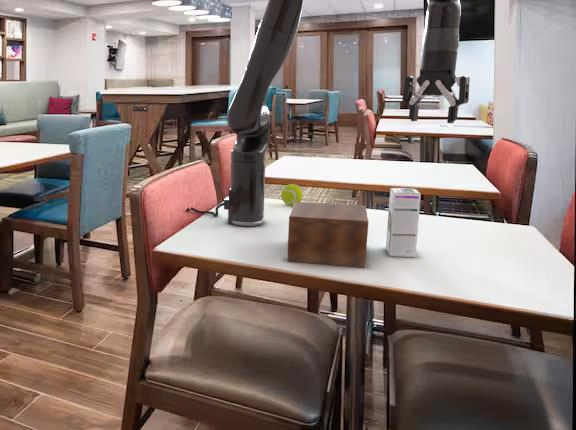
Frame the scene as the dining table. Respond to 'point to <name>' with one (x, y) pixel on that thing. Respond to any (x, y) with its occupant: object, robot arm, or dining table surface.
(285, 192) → the tennis ball
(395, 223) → the syrup box
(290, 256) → the wooden box
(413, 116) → the robot arm
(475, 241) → the dining table surface
